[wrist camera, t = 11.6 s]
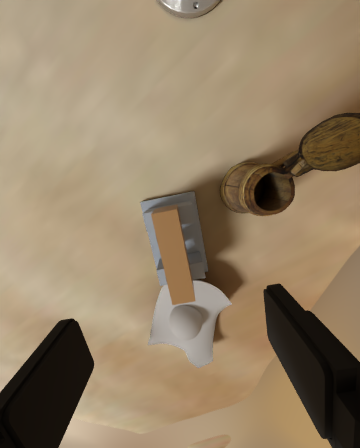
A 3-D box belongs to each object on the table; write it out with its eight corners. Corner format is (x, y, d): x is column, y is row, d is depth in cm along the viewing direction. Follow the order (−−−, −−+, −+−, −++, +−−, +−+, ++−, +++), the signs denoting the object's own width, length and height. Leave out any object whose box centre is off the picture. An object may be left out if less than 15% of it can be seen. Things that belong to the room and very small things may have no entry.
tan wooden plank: (154, 208, 30) (149, 214, 25) (177, 204, 29) (176, 209, 24) (172, 286, 33) (171, 305, 28) (193, 283, 32) (195, 301, 28)
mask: (141, 335, 42) (201, 347, 45) (136, 369, 35) (208, 381, 38) (168, 258, 38) (234, 276, 40) (169, 279, 30) (249, 299, 33)
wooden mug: (296, 166, 34) (422, 151, 16) (244, 221, 36) (304, 261, 19) (262, 131, 33) (358, 75, 15) (210, 191, 35) (240, 203, 17)
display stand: (141, 201, 35) (134, 205, 29) (193, 191, 35) (196, 193, 29) (160, 277, 39) (156, 294, 33) (207, 268, 38) (212, 284, 33)
